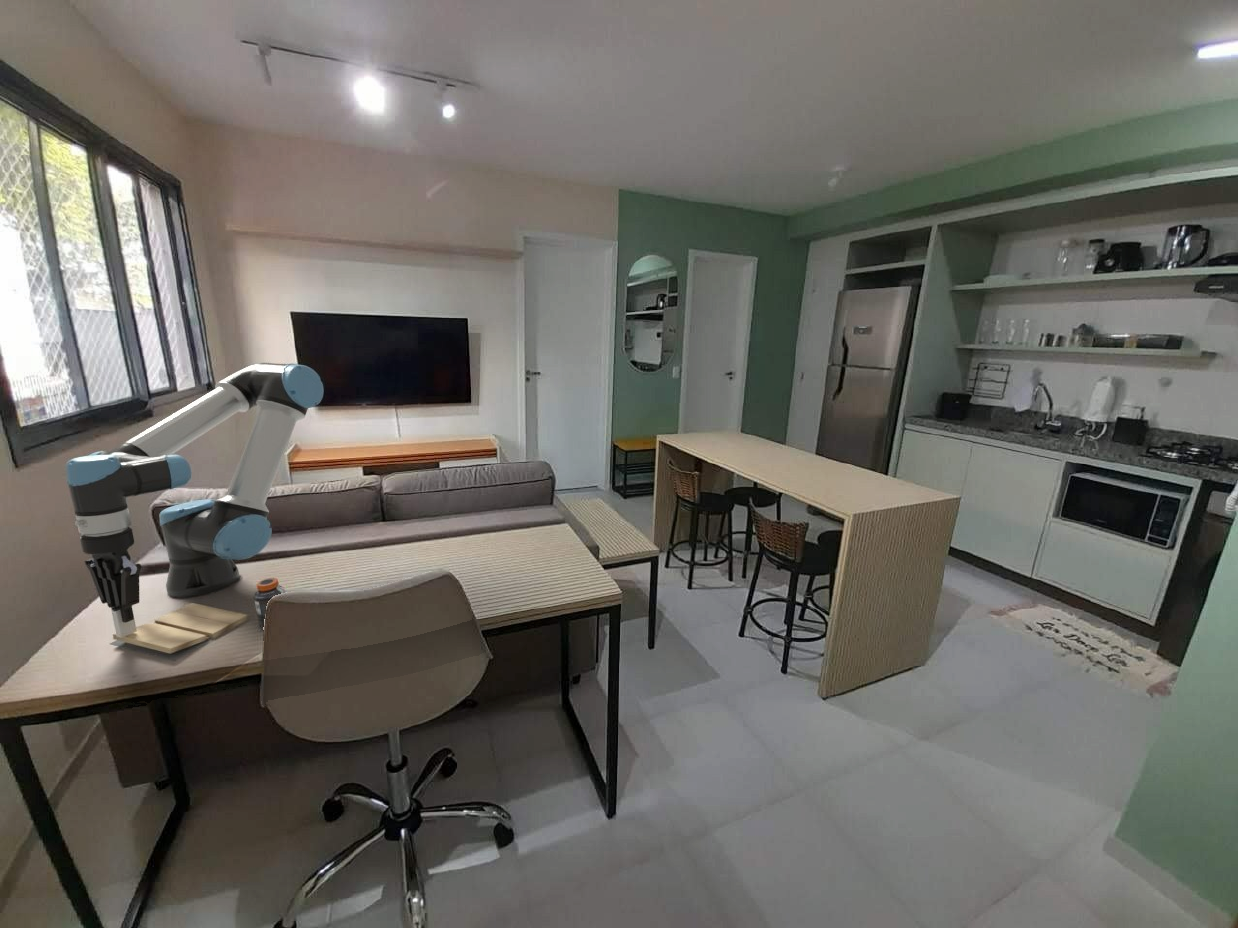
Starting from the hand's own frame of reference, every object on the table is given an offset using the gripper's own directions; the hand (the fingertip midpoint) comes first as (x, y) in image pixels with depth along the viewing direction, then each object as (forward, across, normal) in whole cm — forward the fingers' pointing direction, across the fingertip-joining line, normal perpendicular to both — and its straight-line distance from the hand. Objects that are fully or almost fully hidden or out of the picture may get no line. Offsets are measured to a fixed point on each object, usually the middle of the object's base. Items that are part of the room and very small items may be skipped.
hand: (126, 633), depth 106 cm
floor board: (+3, +6, +11) cm, 13 cm away
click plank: (+2, +5, +3) cm, 6 cm away
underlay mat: (+3, +5, +8) cm, 10 cm away
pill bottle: (+3, +22, +16) cm, 27 cm away
